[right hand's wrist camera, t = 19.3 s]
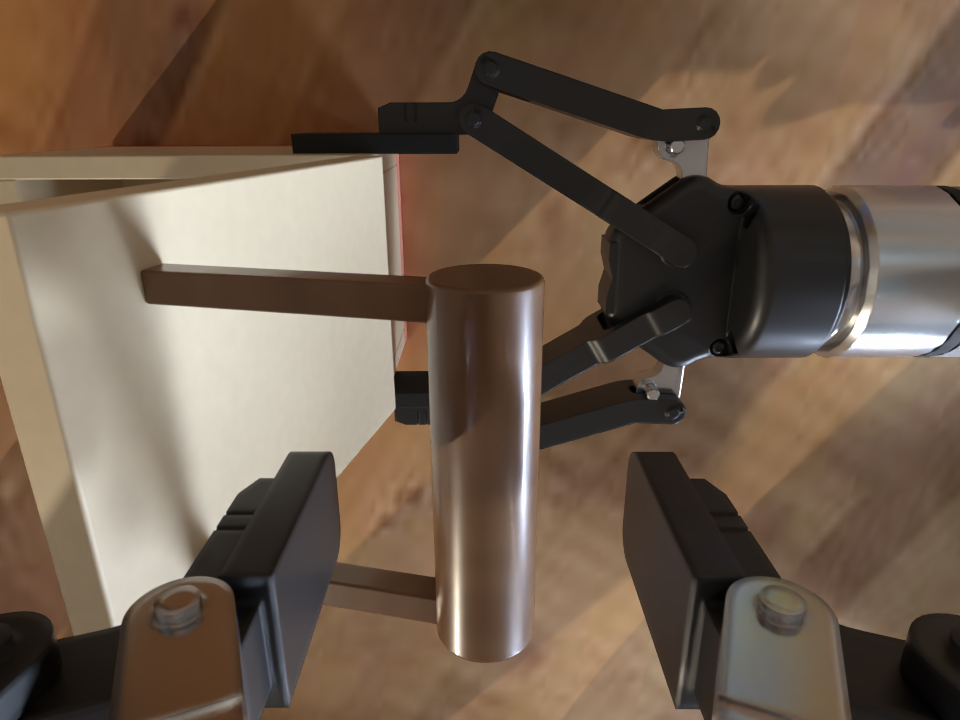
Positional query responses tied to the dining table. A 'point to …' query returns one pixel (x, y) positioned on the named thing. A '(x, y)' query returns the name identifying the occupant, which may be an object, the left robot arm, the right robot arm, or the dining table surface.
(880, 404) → the dining table surface
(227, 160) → the chest
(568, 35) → the dining table surface
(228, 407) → the lid
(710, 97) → the dining table surface
